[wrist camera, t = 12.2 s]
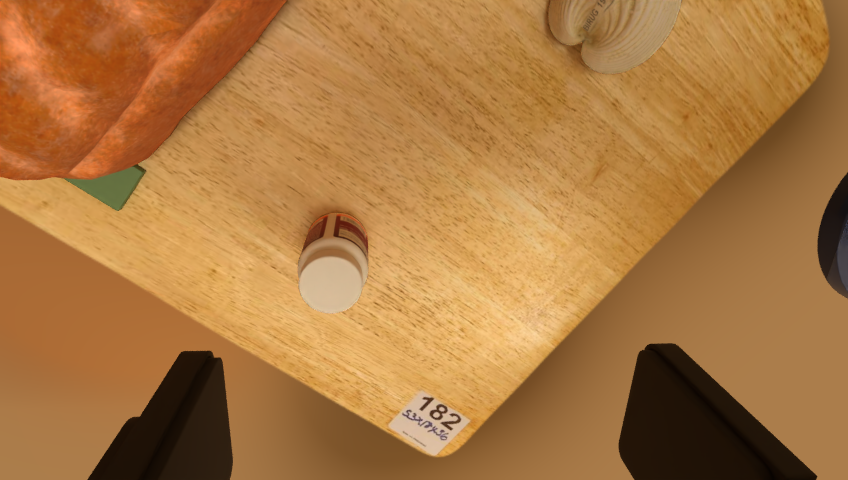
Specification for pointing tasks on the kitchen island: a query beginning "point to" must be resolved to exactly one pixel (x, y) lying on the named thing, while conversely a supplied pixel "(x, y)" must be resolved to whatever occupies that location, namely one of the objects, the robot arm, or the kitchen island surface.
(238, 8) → the bread
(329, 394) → the kitchen island surface
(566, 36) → the seashell
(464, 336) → the kitchen island surface
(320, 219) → the pill bottle
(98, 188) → the green block
